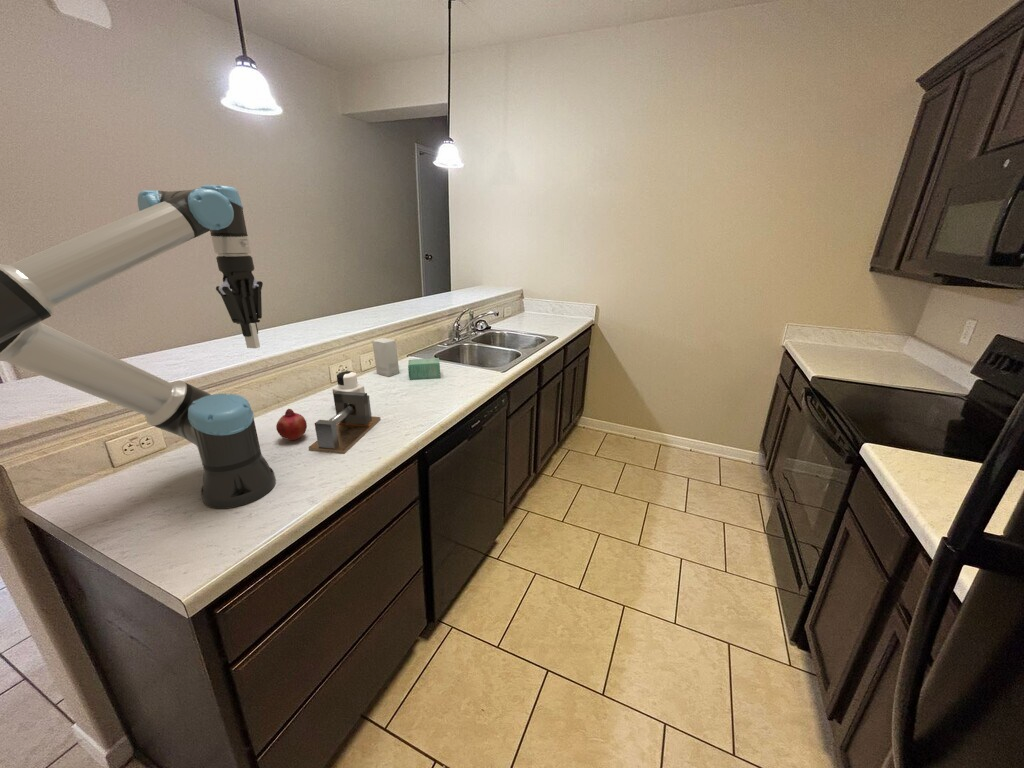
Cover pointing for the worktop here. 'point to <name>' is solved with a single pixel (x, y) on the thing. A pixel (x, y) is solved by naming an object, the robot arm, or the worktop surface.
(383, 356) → the skincare box
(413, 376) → the box
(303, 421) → the fruit
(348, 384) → the container
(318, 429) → the pipe rig
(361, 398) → the collar
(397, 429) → the worktop surface
